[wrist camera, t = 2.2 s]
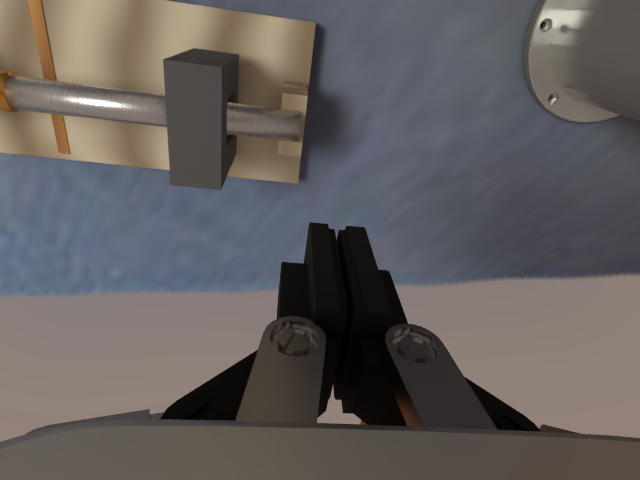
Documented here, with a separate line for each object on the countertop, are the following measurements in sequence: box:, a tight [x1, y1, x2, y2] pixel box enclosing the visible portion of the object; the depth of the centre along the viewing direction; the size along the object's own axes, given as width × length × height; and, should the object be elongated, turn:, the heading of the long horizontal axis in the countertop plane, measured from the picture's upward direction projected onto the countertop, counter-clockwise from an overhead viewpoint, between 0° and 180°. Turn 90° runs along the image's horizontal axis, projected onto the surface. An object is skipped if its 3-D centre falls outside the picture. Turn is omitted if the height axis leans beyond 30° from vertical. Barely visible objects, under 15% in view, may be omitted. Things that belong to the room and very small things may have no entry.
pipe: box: [0, 71, 301, 143], centre depth 25 cm, size 24×2×2 cm, turn 82°
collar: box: [163, 48, 239, 190], centre depth 25 cm, size 3×7×7 cm, turn 172°
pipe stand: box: [0, 0, 316, 184], centre depth 28 cm, size 25×12×6 cm, turn 82°
